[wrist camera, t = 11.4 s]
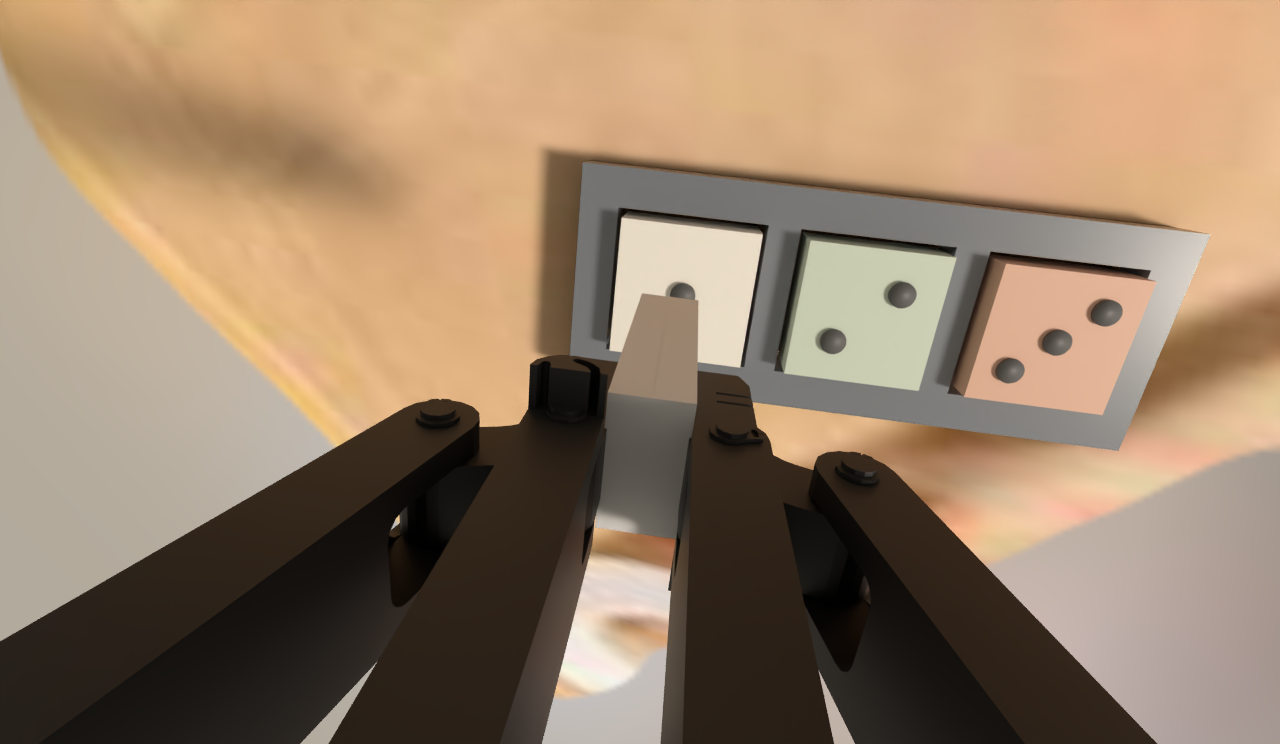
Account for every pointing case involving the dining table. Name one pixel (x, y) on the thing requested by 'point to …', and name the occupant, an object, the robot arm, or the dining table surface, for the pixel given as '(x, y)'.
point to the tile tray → (894, 218)
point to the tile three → (1050, 333)
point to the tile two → (863, 310)
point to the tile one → (689, 277)
